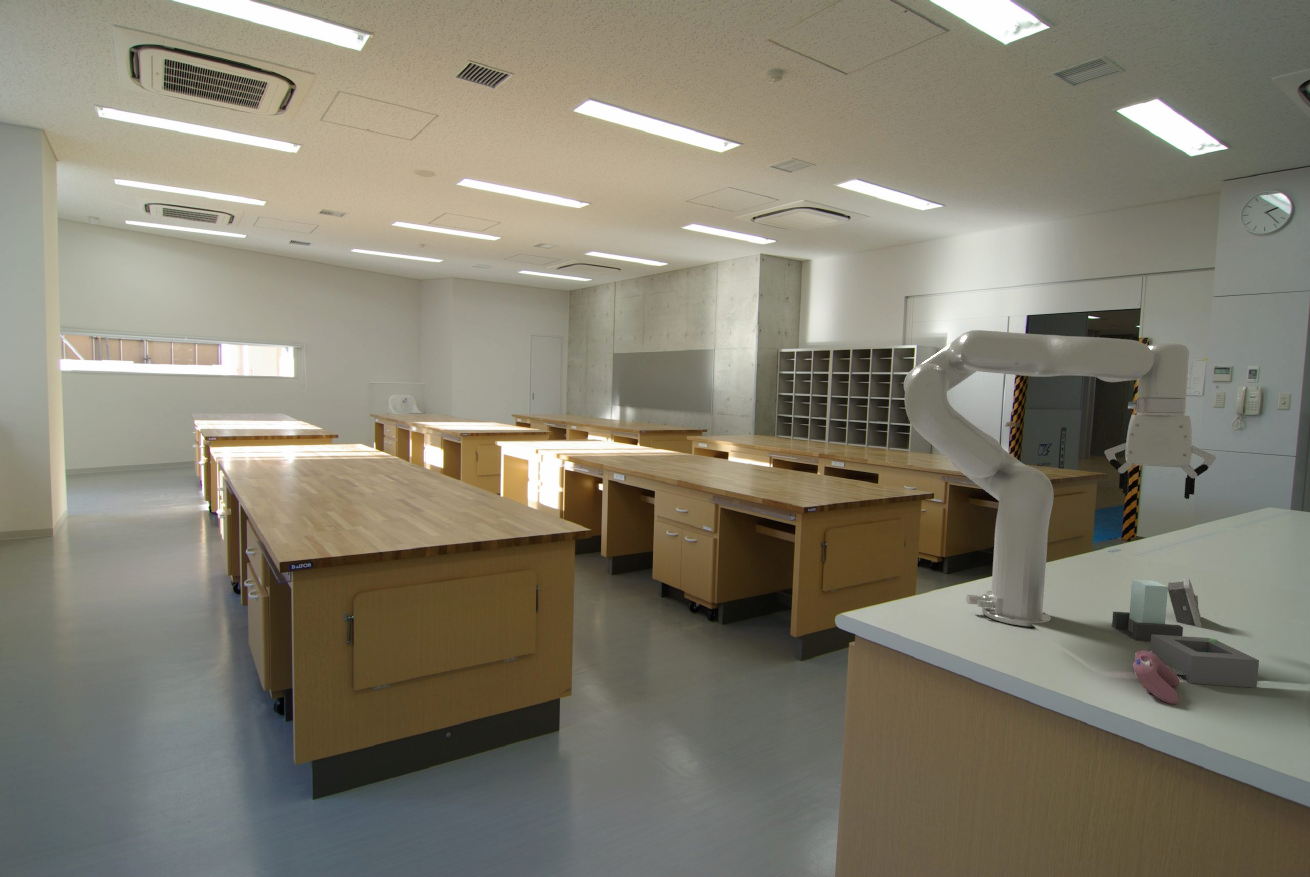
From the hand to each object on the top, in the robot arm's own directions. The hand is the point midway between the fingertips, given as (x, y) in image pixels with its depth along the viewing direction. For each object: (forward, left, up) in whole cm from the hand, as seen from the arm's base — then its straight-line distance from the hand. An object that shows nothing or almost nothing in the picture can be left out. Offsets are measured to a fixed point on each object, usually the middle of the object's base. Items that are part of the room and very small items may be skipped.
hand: (1155, 495), depth 130 cm
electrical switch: (+12, +8, -28) cm, 31 cm away
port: (-4, -20, -27) cm, 34 cm away
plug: (-3, -4, -26) cm, 27 cm away
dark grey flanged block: (-3, -4, -27) cm, 28 cm away
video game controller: (-16, -29, -28) cm, 44 cm away
